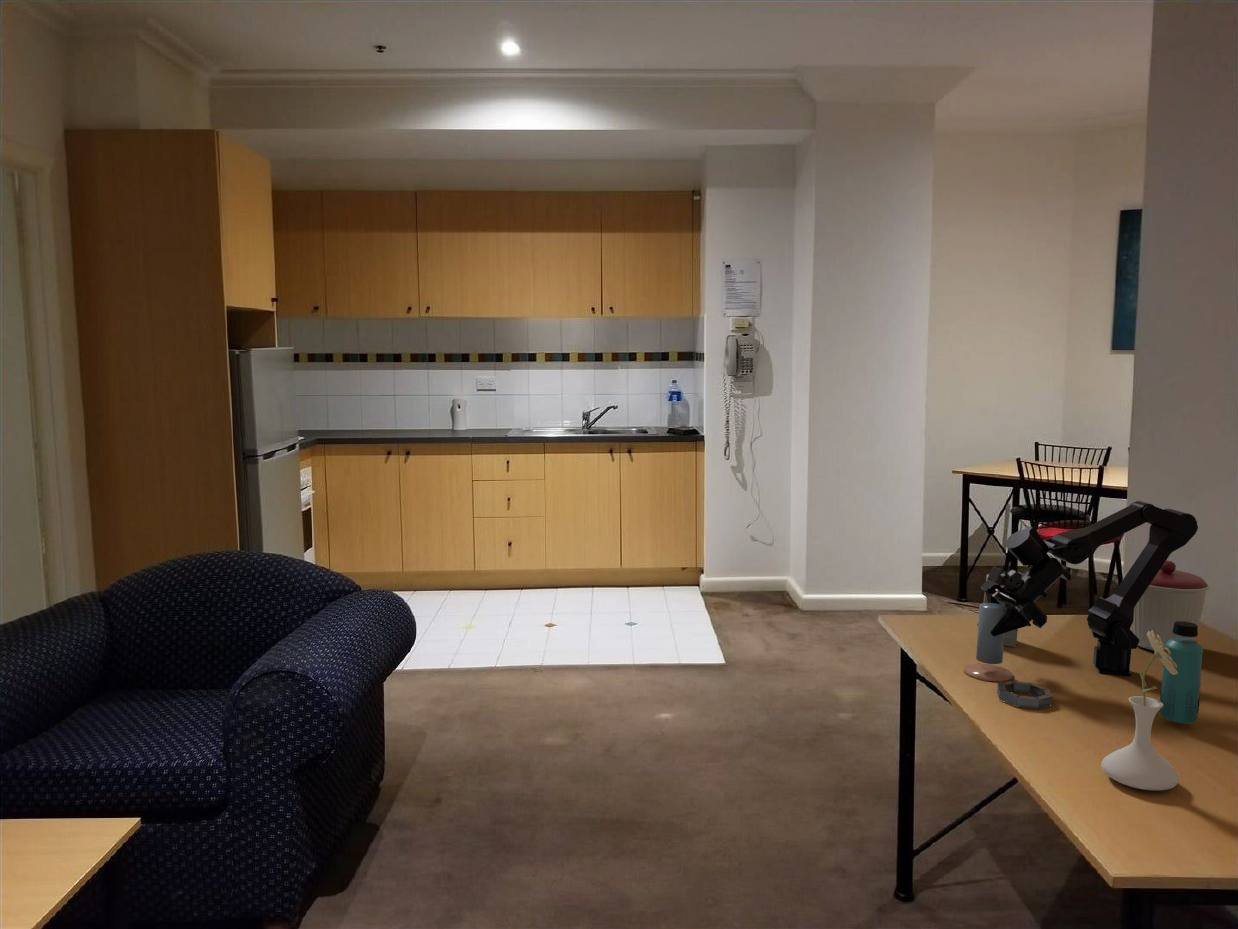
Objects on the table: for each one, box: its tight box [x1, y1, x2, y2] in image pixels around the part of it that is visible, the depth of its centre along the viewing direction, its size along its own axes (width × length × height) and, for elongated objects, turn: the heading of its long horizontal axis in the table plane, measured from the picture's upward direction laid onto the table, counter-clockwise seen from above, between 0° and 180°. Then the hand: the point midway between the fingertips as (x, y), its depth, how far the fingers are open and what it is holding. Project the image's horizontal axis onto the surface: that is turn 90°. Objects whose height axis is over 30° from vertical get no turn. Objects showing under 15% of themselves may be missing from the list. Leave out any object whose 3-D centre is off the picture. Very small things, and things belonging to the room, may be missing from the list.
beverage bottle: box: [1159, 621, 1204, 724], centre depth 183 cm, size 6×7×20 cm
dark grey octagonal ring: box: [996, 680, 1053, 710], centre depth 196 cm, size 10×10×2 cm
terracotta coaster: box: [963, 663, 1014, 682], centre depth 210 cm, size 10×10×1 cm
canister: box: [1122, 559, 1211, 652], centre depth 230 cm, size 18×18×21 cm
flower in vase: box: [1100, 630, 1180, 791], centre depth 159 cm, size 13×11×25 cm
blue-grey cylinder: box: [975, 602, 1006, 665], centre depth 209 cm, size 5×5×12 cm
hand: (985, 630), depth 209 cm, fingers closed on blue-grey cylinder, 5 cm apart
